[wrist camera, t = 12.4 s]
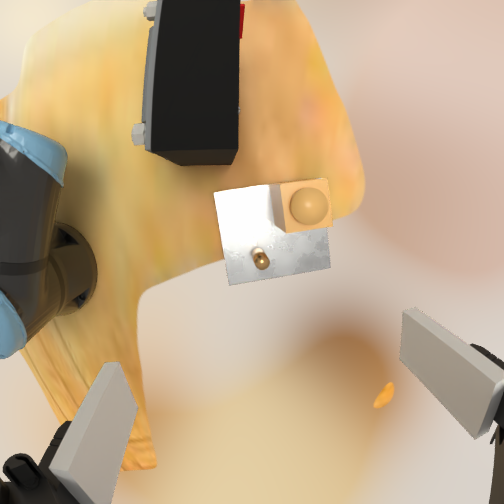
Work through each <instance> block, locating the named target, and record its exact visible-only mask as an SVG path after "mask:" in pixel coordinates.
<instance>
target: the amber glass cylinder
mask: <svg viewBox="0 0 504 504" xmlns="http://www.w3.org/2000/svg"><path fill="white" fill-rule="evenodd" d="M251 256H252V259H253V261H254V263H255V266H256V267H257V268H258V269H259V270H265V269H267V268H268V267H269V265H270V260H269V258H268V257H267V255H266V254H265V252H264V251H263V250H262V249H261V248H256V249H254V250H253V251H252V254H251Z"/></svg>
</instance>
